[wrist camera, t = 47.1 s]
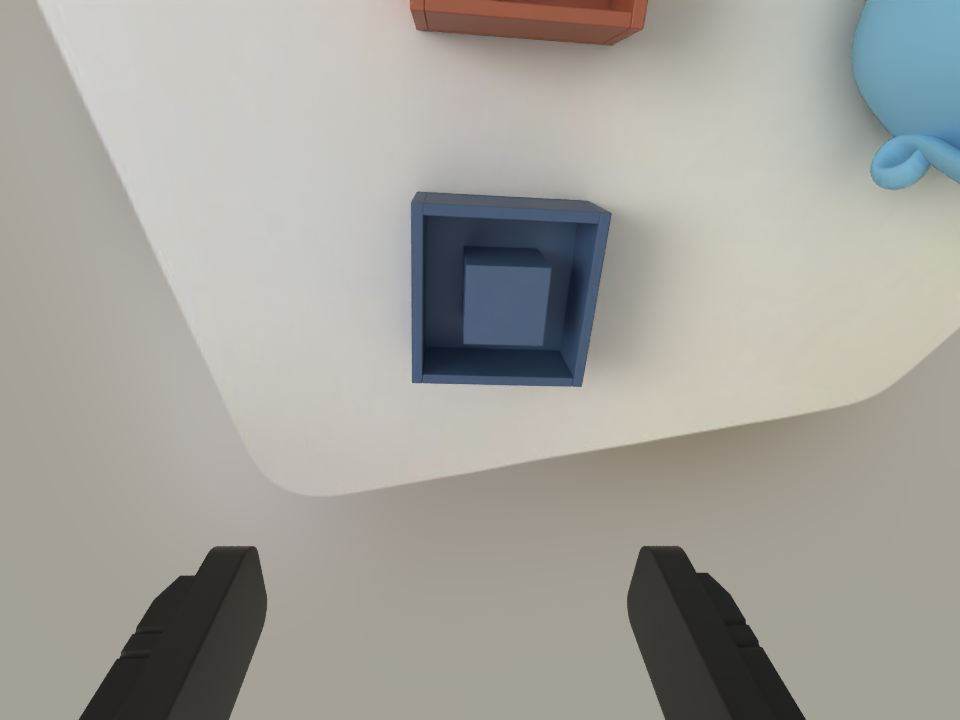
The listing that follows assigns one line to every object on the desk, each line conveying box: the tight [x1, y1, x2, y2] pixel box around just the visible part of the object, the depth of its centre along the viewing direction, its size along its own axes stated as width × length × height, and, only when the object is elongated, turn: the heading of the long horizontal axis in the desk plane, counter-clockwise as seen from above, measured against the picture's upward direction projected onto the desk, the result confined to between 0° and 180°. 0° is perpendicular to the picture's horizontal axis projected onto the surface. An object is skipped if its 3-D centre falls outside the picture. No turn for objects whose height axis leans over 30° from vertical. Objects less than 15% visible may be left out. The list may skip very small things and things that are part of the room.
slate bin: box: [411, 192, 611, 387], centre depth 28 cm, size 10×10×4 cm
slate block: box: [462, 246, 552, 346], centre depth 28 cm, size 4×4×4 cm
